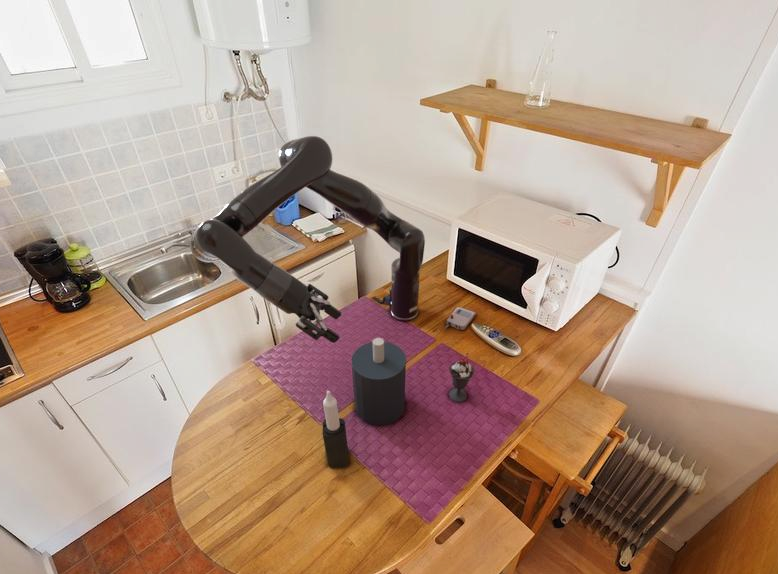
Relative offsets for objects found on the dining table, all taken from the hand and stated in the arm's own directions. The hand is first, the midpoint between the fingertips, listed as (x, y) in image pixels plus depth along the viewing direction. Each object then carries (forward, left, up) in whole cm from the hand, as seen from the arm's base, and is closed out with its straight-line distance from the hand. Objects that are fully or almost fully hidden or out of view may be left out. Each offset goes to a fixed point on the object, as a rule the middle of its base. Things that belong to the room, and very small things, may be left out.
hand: (338, 327), depth 100 cm
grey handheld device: (-4, +52, -29) cm, 60 cm away
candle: (+12, -12, -29) cm, 33 cm away
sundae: (+18, +26, -29) cm, 43 cm away
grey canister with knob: (+6, +7, -28) cm, 30 cm away
